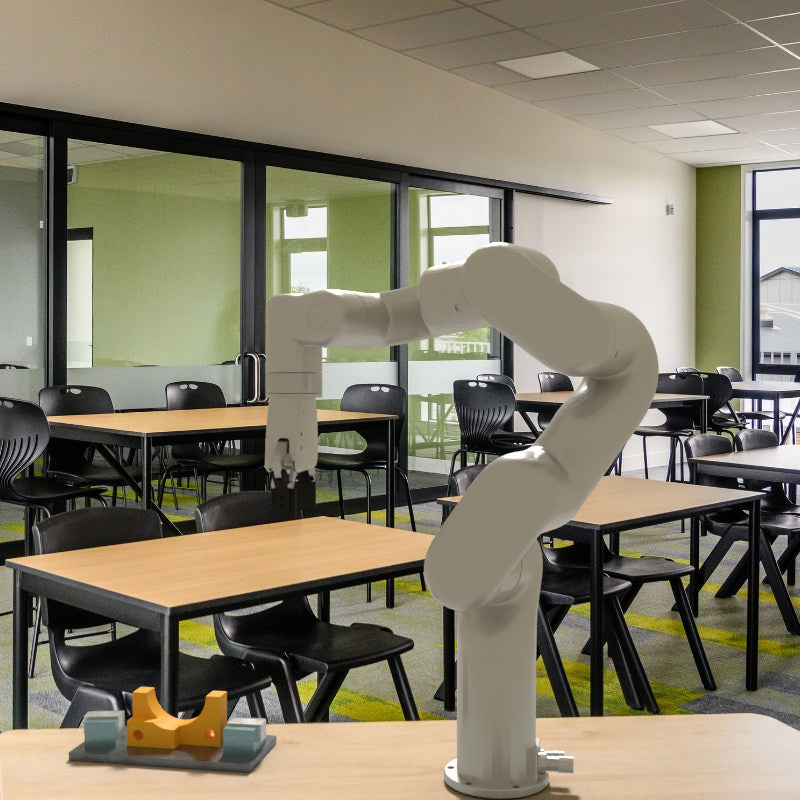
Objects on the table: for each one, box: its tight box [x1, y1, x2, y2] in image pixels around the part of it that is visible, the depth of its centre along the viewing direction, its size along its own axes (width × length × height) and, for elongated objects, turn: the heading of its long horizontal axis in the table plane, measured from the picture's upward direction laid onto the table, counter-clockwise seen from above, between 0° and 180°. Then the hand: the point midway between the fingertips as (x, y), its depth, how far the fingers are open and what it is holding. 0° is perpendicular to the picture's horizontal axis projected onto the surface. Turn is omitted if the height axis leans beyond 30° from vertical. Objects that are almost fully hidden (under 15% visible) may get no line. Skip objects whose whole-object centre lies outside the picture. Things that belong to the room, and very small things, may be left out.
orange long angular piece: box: [126, 686, 228, 749], centre depth 140 cm, size 12×4×6 cm, turn 80°
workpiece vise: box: [68, 709, 277, 774], centre depth 140 cm, size 24×11×4 cm, turn 80°
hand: (294, 514), depth 144 cm, fingers open, 9 cm apart
